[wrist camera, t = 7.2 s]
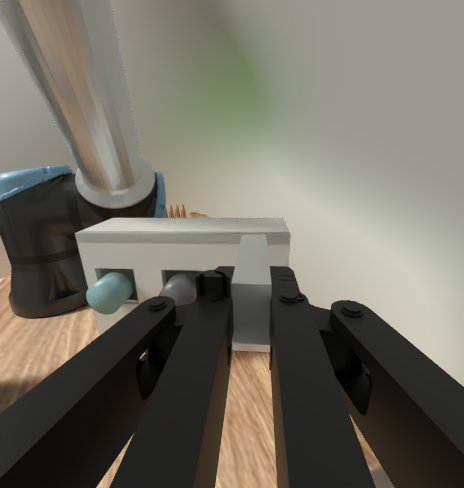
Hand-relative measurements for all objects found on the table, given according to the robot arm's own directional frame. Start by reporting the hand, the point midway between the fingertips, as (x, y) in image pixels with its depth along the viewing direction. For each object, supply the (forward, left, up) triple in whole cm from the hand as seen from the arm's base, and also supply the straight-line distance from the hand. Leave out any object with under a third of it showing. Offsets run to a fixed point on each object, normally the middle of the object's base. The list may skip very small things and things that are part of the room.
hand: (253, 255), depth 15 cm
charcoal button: (-9, +9, -11) cm, 17 cm away
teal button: (-17, +10, -11) cm, 22 cm away
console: (-9, +15, -18) cm, 25 cm away
